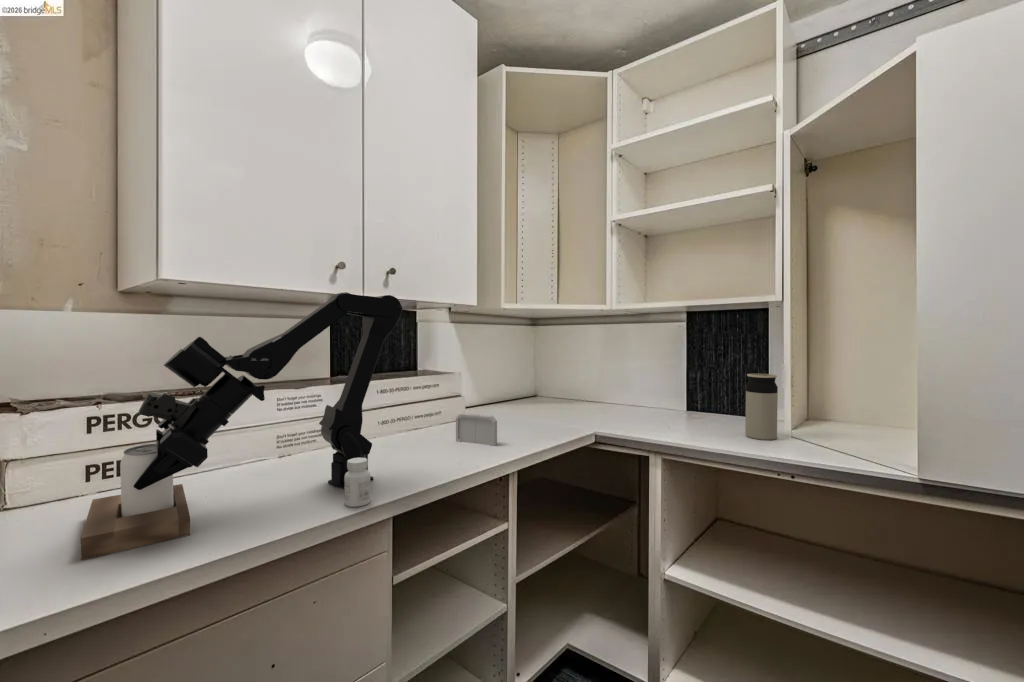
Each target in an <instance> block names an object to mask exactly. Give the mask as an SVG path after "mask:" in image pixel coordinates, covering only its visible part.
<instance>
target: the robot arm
mask: <svg viewBox="0 0 1024 682" xmlns="http://www.w3.org/2000/svg"><path fill="white" fill-rule="evenodd" d="M402 313H403V306H402V304H401V301H400V300H399V299H398V297H396V296H395V295H390V294H388V295H387V294H385V295H379V296H370V295H369V296H368V295H361V294H360V295H359V294H353V293H350V292H346V291H345V292H339V293H335V294H333V295H332V296H331V297H330V299H328V300H327V301H326V302H324V303H323V304H321V305H320V306H318V308H316V309H315V310H313V311H312V312H310V313H309V314H307V315H306V316H304V318H302V319H301V320H299V321H297V322H296V323H295V324H294V325H292V326H291V327H289V328H288V329H287V330H285V331H284V332H282V333H280V334H278V335H276V336H274V337H271V338H269V339H266V340H264V341H262V342H260V343H258V344H256V345H254V346H252V347H250V348H248V349H246V351H244V352H243V354H237V355H231V354H230V355H228V356H224V355H223V354H221V353H220V352H219V351H218V350H216V349H215V348H214V347H213V346H211V345H210V344H209V343H208V341H207V340H206V339H204V338H203V337H202V336H197V337H196V338H195V339H194V340H193V341H191V342H189V344H187V345H186V346H184V347H183V348H180V349H179V350H178V351H177V352H175V354H174V355H172V356H171V357H170V358H169V359H168V360H167V361H166V362H165V363H164V364H163V366H164V368H167V369H168V370H169V371H171V372H172V373H173V374H175V375H176V376H178V377H179V378H180V379H182V380H183V381H184V382H186V383H187V384H189V385H190V386H191V387H193V388H196V387H198V386H199V385H201V386H203V387H204V388H206V387H207V386H209V385H210V384H211V383H213V382H214V381H215V380H216V379H217V378H218V377H219V376H220V375H221V374H222V373H224V374H223V375H222V376H221V377H219V378H218V380H216V381H215V382H214V383H213V384H212V385H211V386H210V387H209V388H207V390H206V391H205V392H203V393H202V394H201V396H200V397H192V399H191V400H189V401H188V402H186V401H182V400H179V399H176V396H175V395H170V394H167V392H166V393H165V392H164V393H162V394H157V393H154V392H150V391H149V392H148V393H147V395H146V396H145V398H144V400H143V402H142V404H141V405H140V408H139V410H138V414H139V415H141V416H145V417H154V418H157V419H161V421H160V422H159V423H158V424H157V427H158V428H160V429H161V430H160V429H157V428H156V429H155V435H156V442H155V444H156V443H157V455H156V457H155V458H154V459H153V461H152V462H151V463H150V464H149V466H148V467H147V468H146V470H145V471H144V472H143V473H142V475H141V476H140V477H139V479H138V480H137V481H136V483H135V484H134V488H136V489H138V490H141V489H143V488H145V487H148V486H150V485H152V484H154V483H156V482H158V481H160V480H162V479H164V478H166V477H168V476H171V475H173V476H174V475H175V474H177V473H179V472H181V471H184V470H186V469H188V468H193V467H195V468H199V467H200V466H201V465H202V464H203V463H204V462H206V460H207V459H208V448H207V446H206V445H207V444H208V443H209V442H210V441H209V439H210V437H211V436H212V435H213V434H215V433H216V432H217V430H218V429H219V428H221V427H222V426H223V427H225V426H226V425H227V424H228V423H229V421H230V420H229V419H230V418H231V417H232V415H234V414H235V413H236V412H237V410H239V409H240V408H241V407H242V406H243V405H244V403H246V402H247V401H248V400H249V399H250V398H251V397H252V396H253V397H255V398H256V399H257V400H259V401H261V402H264V401H265V387H266V386H265V385H263V384H255V383H254V382H253V381H251V380H250V379H249V378H248V377H247V376H245V375H243V374H242V375H241V376H239V377H236V376H235V375H233V374H232V373H231V372H230V371H228V370H227V369H225V368H224V367H225V366H226V367H227V368H229V369H232V370H233V371H235V372H244V373H245V374H247V375H248V376H250V377H252V378H255V379H258V380H262V381H263V380H266V381H267V380H271V379H273V378H274V377H276V376H278V374H279V373H280V372H281V371H282V370H283V369H284V368H285V367H286V366H287V365H288V364H289V363H290V361H291V360H292V359H293V358H294V356H295V355H296V353H297V352H298V351H299V350H300V349H301V348H303V347H304V346H305V345H306V344H307V343H309V342H310V341H312V340H313V339H314V338H315V337H317V336H319V335H320V334H321V333H322V332H324V331H325V330H326V329H327V328H329V327H330V326H331V325H333V324H334V323H336V322H337V321H339V320H340V319H341V318H342V317H344V316H345V315H346V314H348V315H354V316H359V317H362V320H361V321H362V323H361V325H362V335H361V338H360V341H359V344H358V346H357V349H356V352H355V354H354V358H353V360H352V363H351V366H350V369H349V371H348V374H347V377H346V380H345V382H344V385H343V388H342V391H341V395H340V396H339V399H338V401H336V403H335V404H334V406H331V405H329V404H326V406H325V409H324V413H323V417H322V419H321V420H320V421H319V424H318V425H320V426H321V427H320V434H321V436H322V438H323V439H324V440H325V442H327V443H329V444H330V446H331V448H332V450H334V451H336V452H335V453H332V461H331V463H330V464H331V466H330V467H331V468H330V470H331V471H330V472H331V474H330V475H331V479H329V480H327V484H329V485H333V486H337V487H341V488H344V489H345V474H346V473H347V472H348V471H349V470H348V469H347V461H348V460H349V459H352V458H366V459H367V461H368V462H369V454H370V452H371V449H372V447H373V442H371V441H370V440H369V439H367V438H366V437H365V436H364V435H362V433H361V432H362V427H363V404H364V400H365V399H366V395H367V391H368V389H369V386H370V383H371V380H372V378H373V375H374V371H375V369H376V366H377V363H378V359H379V357H380V355H381V354H380V353H381V351H382V349H383V345H384V342H385V340H386V338H387V337H389V335H390V334H391V332H393V330H394V329H395V328H396V325H397V324H398V322H399V320H400V319H401V317H402ZM162 429H163V430H162ZM366 470H368V471H369V465H368V466H367V468H366ZM372 480H374V476H371V475H370V482H371V481H372Z"/></svg>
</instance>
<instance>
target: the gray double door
mask: <svg viewBox="0 0 1024 682" xmlns="http://www.w3.org/2000/svg"><path fill="white" fill-rule="evenodd" d="M455 442H456V443H470V444H479V445H484V446H485V445H487V446H491V447H496V446H497V445H498V420H497V419H496V418H495V417H494V416H493V415H487V414H485V415H484V414H480V413H479V414H477V413H466V412H465V413H464V412H462V413H459V414H458V416H456V417H455Z"/></svg>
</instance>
